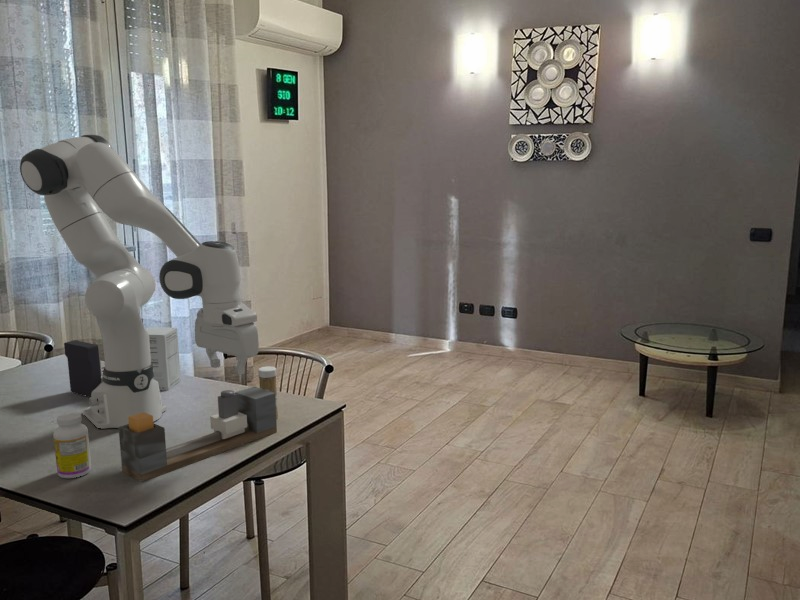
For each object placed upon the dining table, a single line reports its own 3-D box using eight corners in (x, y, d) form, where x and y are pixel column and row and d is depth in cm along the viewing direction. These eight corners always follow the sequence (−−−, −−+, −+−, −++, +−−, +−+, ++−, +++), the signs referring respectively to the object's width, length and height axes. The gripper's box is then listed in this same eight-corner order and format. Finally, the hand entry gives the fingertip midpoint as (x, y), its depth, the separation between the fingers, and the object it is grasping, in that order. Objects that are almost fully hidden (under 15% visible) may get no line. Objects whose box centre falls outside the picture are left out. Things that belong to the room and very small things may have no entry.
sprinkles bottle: (281, 419, 183) (279, 368, 180) (264, 422, 180) (262, 371, 178) (273, 413, 186) (271, 364, 184) (257, 417, 184) (255, 367, 181)
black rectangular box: (105, 395, 202) (100, 344, 200) (91, 399, 199) (87, 347, 196) (82, 388, 208) (77, 339, 205) (68, 392, 205) (63, 342, 202)
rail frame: (122, 471, 152) (118, 427, 150) (256, 424, 179) (254, 386, 177) (141, 481, 147) (138, 436, 145) (276, 431, 174) (275, 393, 172)
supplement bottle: (64, 466, 154) (58, 410, 152) (95, 465, 155) (90, 409, 153) (52, 480, 148) (46, 422, 145) (85, 479, 148) (79, 420, 146)
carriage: (211, 434, 168) (208, 392, 166) (232, 427, 172) (230, 386, 170) (226, 440, 164) (224, 398, 162) (247, 433, 168) (245, 391, 166)
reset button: (130, 439, 150) (128, 416, 149) (145, 434, 153) (143, 412, 152) (138, 443, 148) (137, 420, 147) (154, 438, 151) (152, 415, 150)
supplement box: (152, 380, 216) (148, 326, 213) (181, 380, 215) (178, 327, 212) (138, 389, 207) (133, 333, 204) (168, 390, 206) (164, 334, 203)
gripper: (185, 309, 167) (190, 366, 169) (238, 320, 153) (243, 381, 156) (208, 305, 171) (212, 360, 174) (261, 314, 158) (265, 374, 161)
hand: (227, 370), depth 165 cm, fingers open, 8 cm apart
